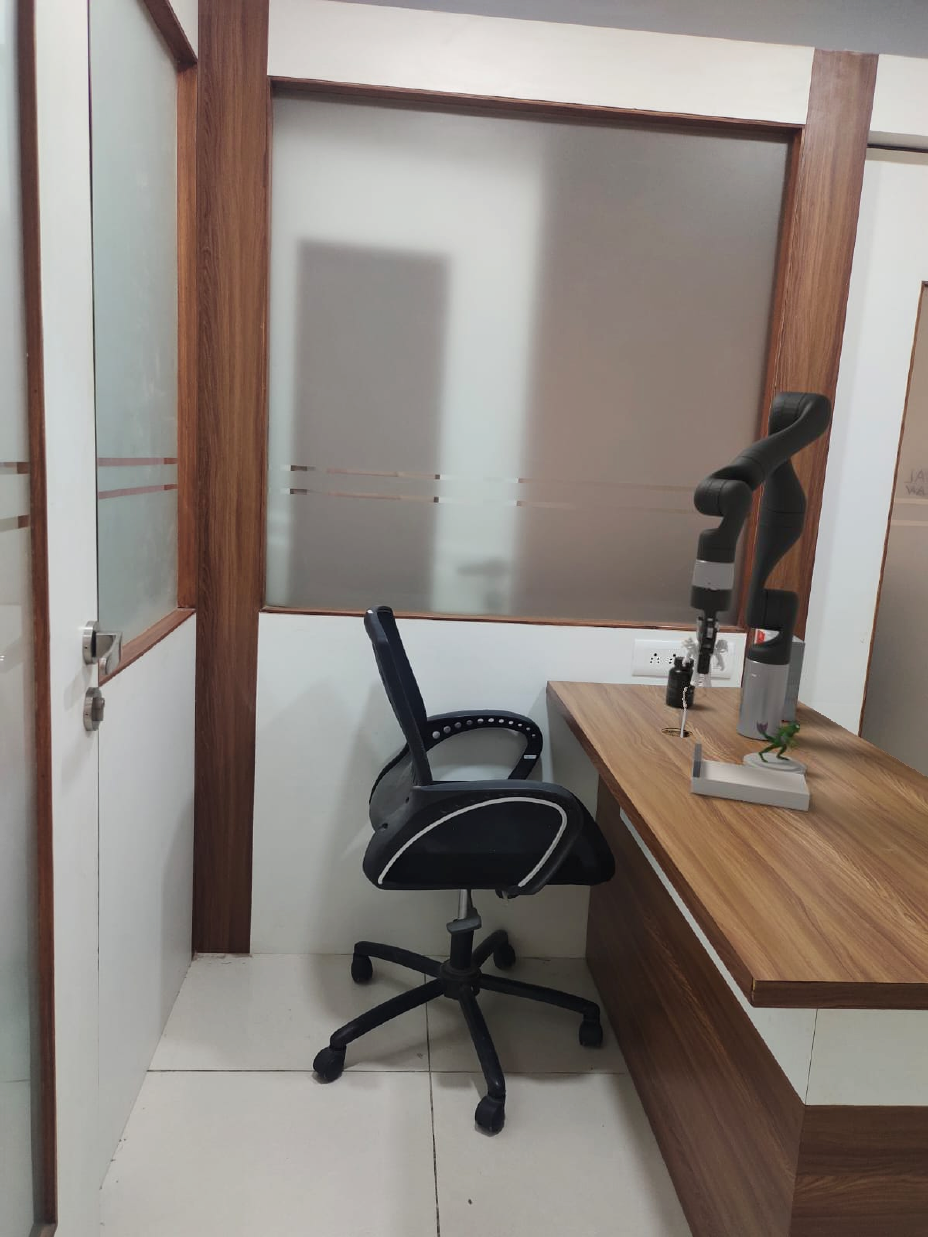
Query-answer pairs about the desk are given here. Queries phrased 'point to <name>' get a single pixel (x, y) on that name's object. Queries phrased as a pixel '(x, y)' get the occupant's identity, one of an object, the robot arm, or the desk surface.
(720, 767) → the shelf board
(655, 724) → the desk surface
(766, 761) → the monster figurine
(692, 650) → the white toy figure
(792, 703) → the hard drive box
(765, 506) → the robot arm
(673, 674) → the supplement bottle
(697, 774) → the rail
